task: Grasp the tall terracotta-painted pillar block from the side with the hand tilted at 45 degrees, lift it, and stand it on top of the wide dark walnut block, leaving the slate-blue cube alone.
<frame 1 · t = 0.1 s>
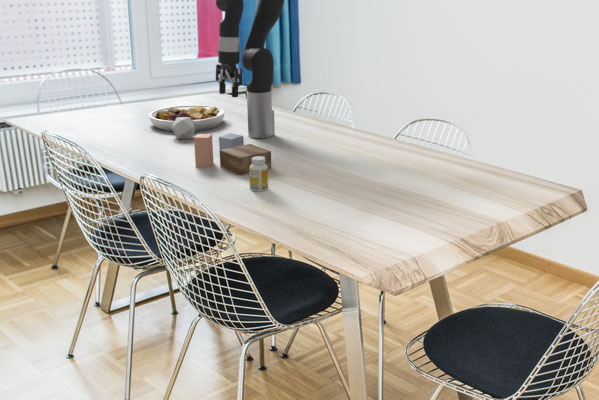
hand: (228, 95, 257), 17 cm above the table, tool pointing down, fingers open, 8 cm apart
die: (184, 138, 269), on the table
supplement bottle: (259, 189, 211), on the table
pillar block: (204, 165, 235), on the table
walnut block: (245, 168, 232), on the table
slate cube: (231, 152, 249), on the table
bowl: (187, 125, 290), on the table
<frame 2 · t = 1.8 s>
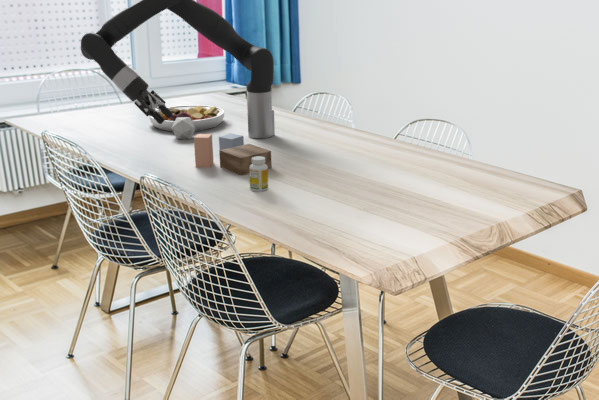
hand: (167, 119, 232), 15 cm above the table, tool tilted 45°, fingers open, 8 cm apart
nothing on the table moved.
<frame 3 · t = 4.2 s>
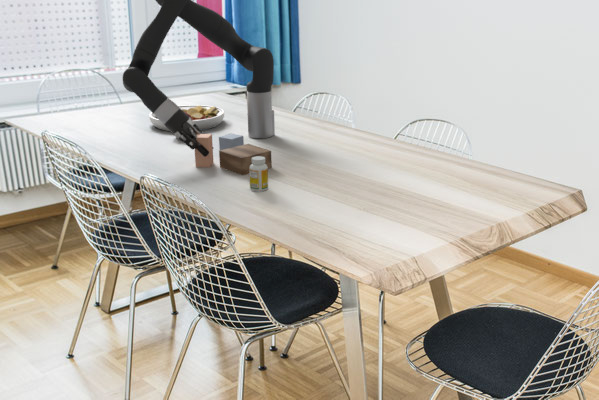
hand: (209, 152, 234), 4 cm above the table, tool tilted 45°, fingers closed on pillar block, 4 cm apart
pillar block: (204, 165, 235), on the table, touching gripper
everything else where it was.
when the fingers open (11 cm above the table, at t = 9.3 s): pillar block stays where it is, resting on walnut block.
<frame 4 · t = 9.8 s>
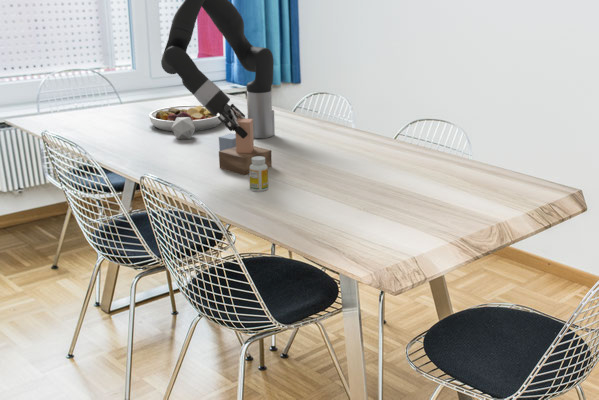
hand: (248, 133, 228), 11 cm above the table, tool tilted 45°, fingers open, 8 cm apart
pillar block: (245, 150, 230), point 6 cm above the table, touching walnut block
walnut block: (245, 168, 232), on the table, touching pillar block
everything else where it was.
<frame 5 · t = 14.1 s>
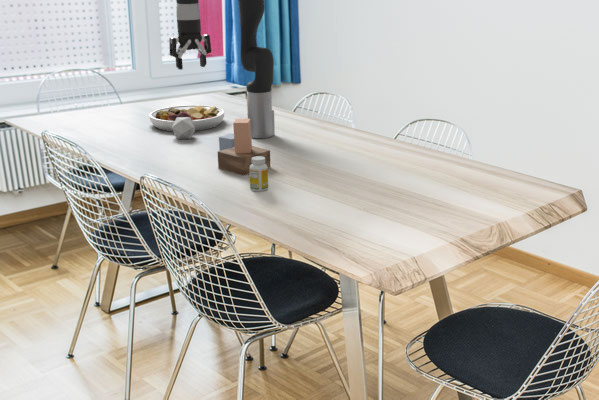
hand: (191, 67, 236), 30 cm above the table, tool pointing down, fingers open, 8 cm apart
at the end: pillar block inside the target area on the walnut block (0.1 cm from its centre), point 6.0 cm above the walnut block's base; pillar block tilted 1°; the gripper is holding nothing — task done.
